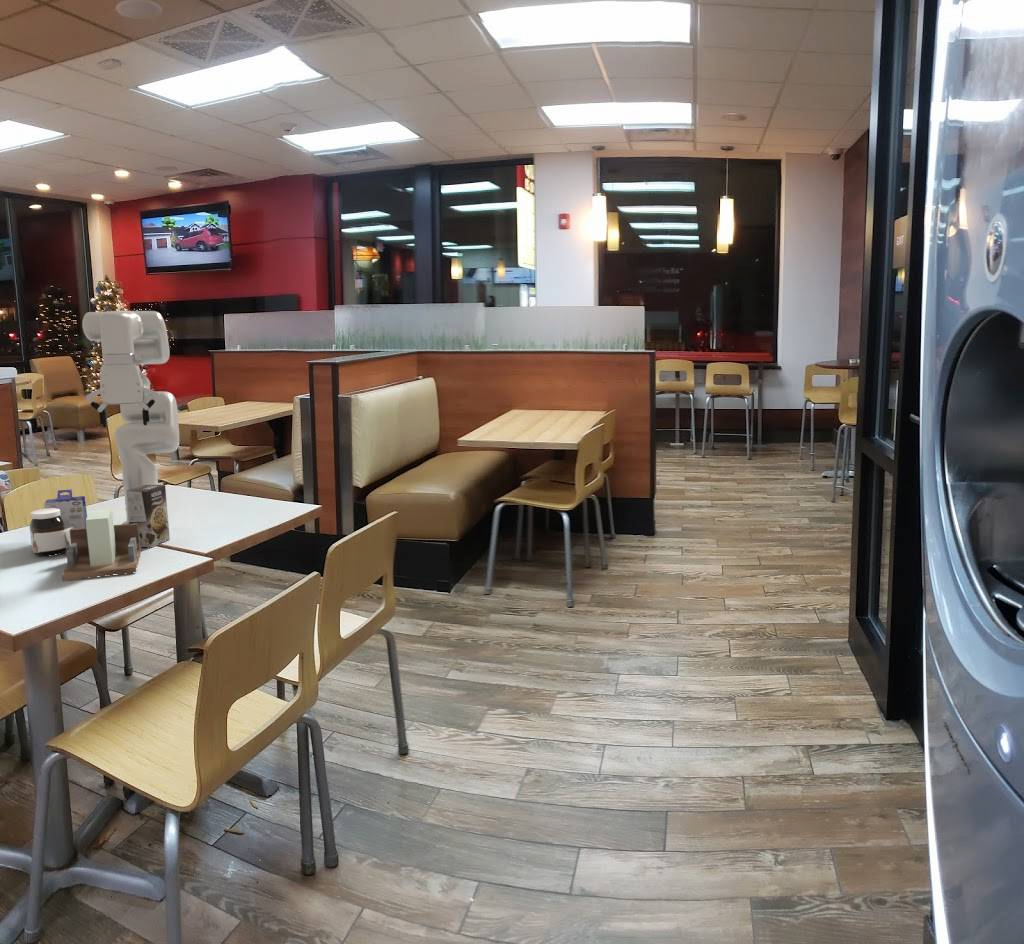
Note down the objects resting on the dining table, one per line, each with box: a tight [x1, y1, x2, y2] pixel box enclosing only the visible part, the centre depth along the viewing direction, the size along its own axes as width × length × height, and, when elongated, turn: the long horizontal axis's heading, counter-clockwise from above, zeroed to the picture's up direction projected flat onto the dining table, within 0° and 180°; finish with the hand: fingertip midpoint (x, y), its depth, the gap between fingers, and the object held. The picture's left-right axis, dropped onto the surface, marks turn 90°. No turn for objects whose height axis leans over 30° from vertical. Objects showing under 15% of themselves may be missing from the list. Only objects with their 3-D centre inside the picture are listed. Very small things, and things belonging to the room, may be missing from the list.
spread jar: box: [29, 508, 74, 557], centre depth 217 cm, size 12×11×12 cm
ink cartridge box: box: [44, 489, 88, 543], centre depth 228 cm, size 10×6×14 cm, turn 112°
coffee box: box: [126, 484, 171, 549], centre depth 225 cm, size 9×6×16 cm
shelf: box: [61, 523, 142, 582], centre depth 204 cm, size 18×16×8 cm
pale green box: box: [86, 508, 117, 566], centre depth 205 cm, size 10×5×12 cm, turn 21°
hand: (125, 425), depth 213 cm, fingers open, 9 cm apart
